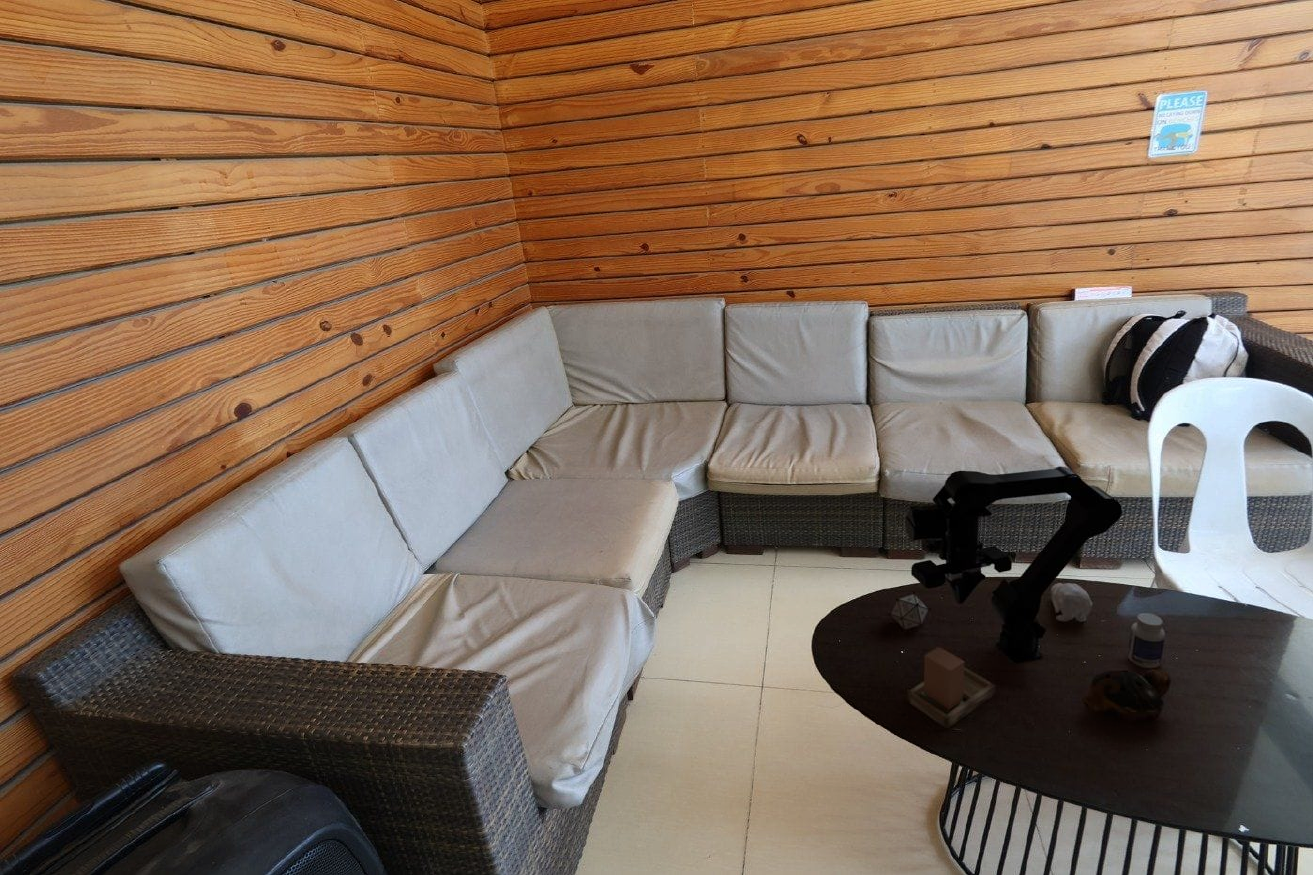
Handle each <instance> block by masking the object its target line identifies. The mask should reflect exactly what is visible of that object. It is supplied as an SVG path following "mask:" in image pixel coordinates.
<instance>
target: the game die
mask: <svg viewBox="0 0 1313 875" xmlns="http://www.w3.org/2000/svg"><path fill="white" fill-rule="evenodd" d="M894 598H895V600H896V601H895V602H894V604H893V607H892V609H891V612H889V613H886V616H888V617H889V616H891V617H892V618H893V619H894V620H895V621H896V622H897V624H898V625H899V626H900V627H901V628H902V629H903V630H902V632H903V634H905V633H906V630H909V629H913V628H916V627H922V628H924V627H925V625H924V624H923V623H924V620H925V618H926V616H927V615H928V613H929V611H932V610H933V608H932V607H927V606H926V605H925V604H924V602H923V601H921V599H920V598H919V597H918V596H917V595H916V590H913V591H912V593H911V594H909V595H908V594H907V595H905V596H903V597H902V596H901V597H898V596H894Z"/></svg>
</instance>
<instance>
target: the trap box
mask: <svg viewBox="0 0 1313 875" xmlns="http://www.w3.org/2000/svg"><path fill="white" fill-rule="evenodd" d="M995 695H996V685H995V684H994V683H992V682H990V681H989V680H988V679H985V678H984V677H982V676H980V675H979V674H977V673H975V672H973V671H972V670H970V669H968V668H966V667H965V666H964V686H963V701H961V702H960V703H959V704H957V705H956V706H954V707H953V708H951V709H950V710H948V709H947V708H945V707H944V706H942V705H940V704H939V703H937V702H936V701H934V700H933V699H931V698H930V697H928V696H927V695H925V694H924V680H923V681H922V682H920V683H919V684H918V685H916V686H914V687H913V688H911V689H909V690H908V691H907V692H906V702H908V703H909V704H910V705H912V706H914V708H916V709H918V710H919V711H920V712H922V713H923V714H925V715H927V716H929V717H930V718H931V719H933V720H934V721H935V722H936V723H938V724H940V725H941V726H943V727H944V728H945V729H949V728H950V727H952V726H953V725H954V724H956V723H957V722H959V721H961V719H963V718H964V717H966V716H967V715H968V714H970V713H972V712H973V711H974V710H976V709H977V708H978V707H980V706H981V705H982V704H984V703H985V702H987V701H988V700H990V698H992V697H994V696H995Z"/></svg>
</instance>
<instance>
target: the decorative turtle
mask: <svg viewBox="0 0 1313 875" xmlns="http://www.w3.org/2000/svg"><path fill="white" fill-rule="evenodd" d="M1171 679H1172V678H1171V676H1170V675H1169V673H1167V672H1166V671H1163V670H1159V669H1150V670H1147V671H1145V672H1144V673H1143V674H1142V675H1140V674H1138V673H1137V672H1136V671H1133V670H1131V669H1123V668H1122V669H1121V668H1120V669H1119V668H1118V669H1110V670H1107V671H1103V672H1101V673H1099V674H1097V675H1096V676H1094V677H1093V679H1091V682H1090V685H1089V686H1090V691H1089V693H1087V694H1084V696H1083V697H1082V699H1081V700H1082V702H1083V704H1084V706H1085V708H1086V709H1087V710H1088V711H1089V712H1091V713H1094V714H1096V713H1101V712H1107V711H1110V712H1111V711H1113V712H1114V713H1115V712H1116V713H1117V714H1118V715H1119V717H1120V718H1121V720H1122V721H1123V722H1124V723H1125V724H1128V725H1130V724H1131V725H1132V724H1134V723H1136V722H1139V721H1141V720H1142V719H1146V720H1149V721H1155V720H1158V718H1159V717H1160V715H1161V713H1162V711H1163V709H1164V700H1163V697H1164V696H1165V695H1166V694H1167V692H1168V691H1169V688H1170V686H1171V681H1172V680H1171Z"/></svg>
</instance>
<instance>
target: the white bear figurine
mask: <svg viewBox="0 0 1313 875" xmlns="http://www.w3.org/2000/svg"><path fill="white" fill-rule="evenodd" d="M1050 593H1051V595H1048V597H1049V598H1051V601H1052V603H1053V605H1054V606H1053V607H1054V610H1055V613H1059V612H1061V613H1062V614H1059V615H1057V616H1055V619H1056V621H1059V622H1068V621H1071V620H1073V619H1075V620H1076V621H1077V622H1080V623H1081V622H1086V621H1087V616H1088V615H1089V614H1091V610H1092V608H1093V602H1092V600H1091V598H1090V595H1089V594H1088V592H1087V591H1086V590H1085V589H1083V588H1082V587H1081V585H1079V584H1076V583H1070V582H1066V583H1061V582H1059V583H1055V584H1054V585H1053V586H1052V587H1051V589H1050Z"/></svg>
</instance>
